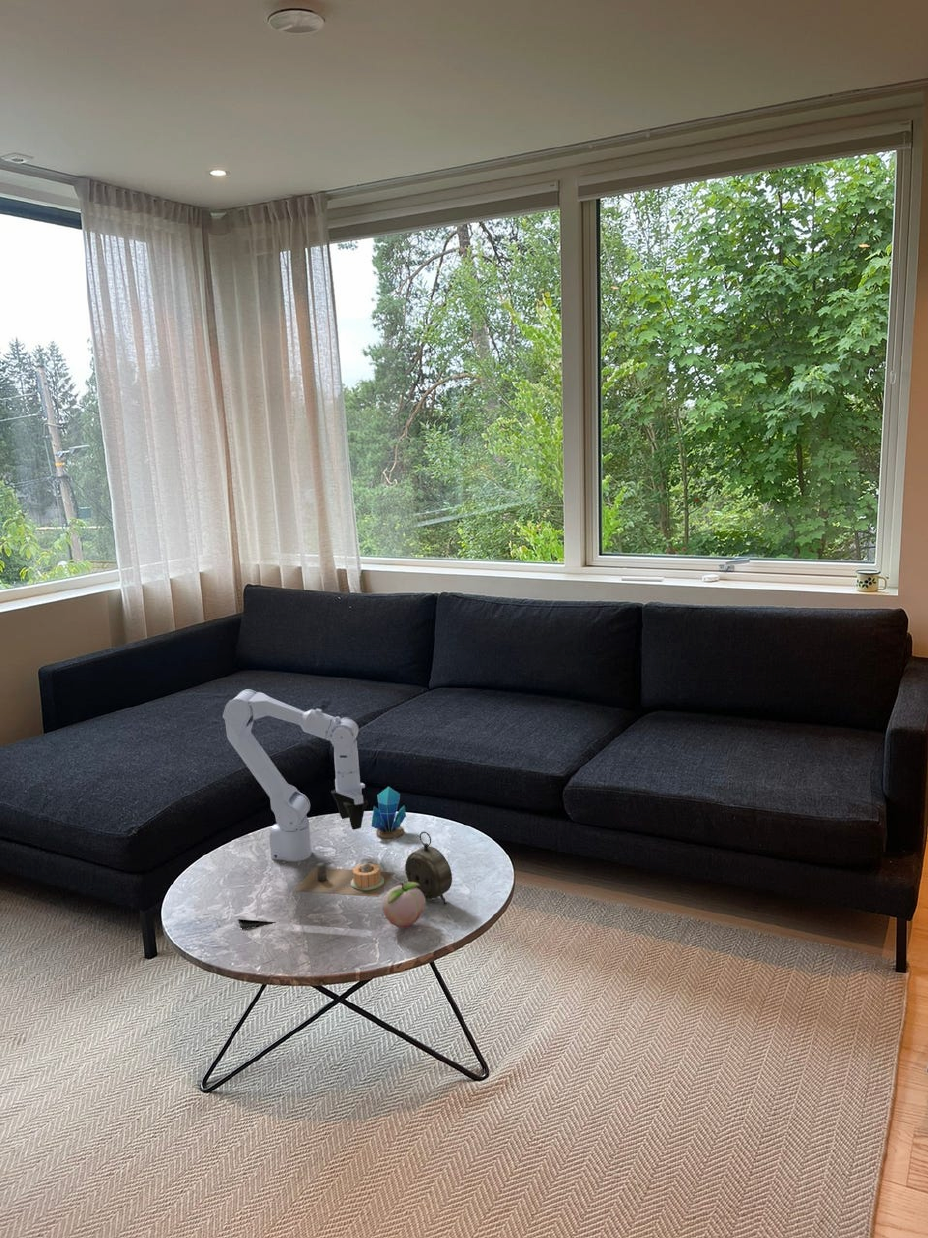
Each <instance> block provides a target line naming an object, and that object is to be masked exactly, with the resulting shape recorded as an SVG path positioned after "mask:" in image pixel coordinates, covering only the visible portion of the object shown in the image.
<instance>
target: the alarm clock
mask: <svg viewBox="0 0 928 1238" xmlns="http://www.w3.org/2000/svg"><path fill="white" fill-rule="evenodd" d="M423 834H426V835H427V836H428V838H429V844H428V843H424V842H423V841H422V835H423ZM419 841H420V843H421V844H422V845H423V846H422V847H420V848H419V849H417V850H415V851H413V852H411V853H410V854H409V855H408V856H407V858H406V860H405V865H404V867H405V868H404V869H405V870H404V872H405V875H406V879H407V881H408V882H416V883H418V884H419V885H420V886H417V888H418V889H420V890H421V891H422V893H423V894H424V896H425V900H435V899H437V898H438V897H440V899H441V901H442V903H443V905H444V906H445V905H447V903H448V902H447V901H446V898H445V896H444V893H447V892H448V891H449V890H450V889H451V887H452V882H453V873H452V870H451V866H450V864H449V862H448V860H447V858H446V857H445V856H444V854H443V853H442V852H441V851H440V850H438V849H437V848H435V847H434V846H431V844H432V837H431V835H430V833H429V832H426V831H421V832H420V834H419ZM408 882H407V883H408Z"/></svg>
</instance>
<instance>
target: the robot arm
mask: <svg viewBox="0 0 928 1238" xmlns="http://www.w3.org/2000/svg"><path fill="white" fill-rule="evenodd" d="M268 716H269V717H272V718H275V719H277V720H278V719H279V720H282V721H285V722H290V723H293V724H296V725H298V726H300V728H301V729H302V731H303V732H304V733H306V734H309V735H313V736H315V737H317V738H321V739H323V740H326V741H330V744H332V746H333V758H334V771H335V773H334V774H335V779H334V787H335V789H333V790H331V791H330V794H331V795H332V796H333V798H334V800H335V802H336V805H337V809H338V813H339V816H340V818H341V819H342V820H343V819H344V820H345V819H349V824H350V827H351V829H352V830H353V831H354V830H358V829H361V828H362V825H363V819H364V813H365V812H366V811H365V810H366V809H367V806H368V804H369V800H367V798H364V795H363V794H362V789H365V788H366V784H365V783H363V782H361V775H360V765H359V764H360V763H359V751H358V743H357V742H358V741H357V739H356V738H358V734H359V730H360V729H359V725H358V724H357V723H356V721H355V720H353V719H352V718H350V717H342V718H341V717H340V716H338V715H337V716H333V715H330V714H327V713H324V712H323V709H321V708H316V709H314V708H311V709H309V710H307V711H305V710H303V709H300V708H298V707H294V706H292V705H290V704H287V703H285V702H282V701H281V700H278V699H275V698H273V697H270V696H269V695H268V694H265V693H264V692H260V691H258V692H257V691H255V690H253V689H249V688H248V689H244V690H241V691H240V692H239V693H237V695H236V696H235V697H234V698H233V699H230V700H229V701H228V702H227V703H226V705H225V706H224V710H223V713H222V719H224V723H225V730H226V738H227V740H228V742H229V743H230V744H231V746H232V747H233V749H234V750H235V752H236V753H237V755H239V757H240V758H241V759H242V761H243V762H244V764H245V765H246V766H247V767H246V768H248V769H249V771H250V772H251V773H252V775H253V776H254V778H255V779H256V781H257V782H258V783H259V784H260V786H261V788H262V789H263V790H264V792H265V793H266V795H267V796H268V797H269V800H270V809H271V811H272V812H273V813H274V817H275V822H276V823H275V824H273V825H272V826H271V829H270V831H269V849H270V859H271V860H278V861H279V860H280V861H281V860H282V861H286V862H301V861H305V860H307V859H308V858H311V856H312V853H313V852H312V842H311V841H312V840H311V832H310V831H311V829H310V820H309V819H308V816H307V814H308V813H309V812H310V810H311V802H310V800H309V798H308V797H307V796H306V795H305V794H303V793H301V792H300V791H299V790H298V789H297V787H295V786H293V785H292V784H289V783H288V782H287V781H286V779H285V777H284V776H283V775H282V773H281V772H280V771H279V770H278V768H277V766H276V765H275V764H274V762H273V761H272V759H271V758H270V756H269V755H268V754H267V752H266V751H265V750H264V749H263V746H261V744H260V743H259V742H258V740H257V739H256V737H255V736H254V735H253V733H252V729H253V725H254V721H255V720H259V719H261V718H264V717H265V718H266V717H268Z"/></svg>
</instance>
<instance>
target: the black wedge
mask: <svg viewBox="0 0 928 1238" xmlns="http://www.w3.org/2000/svg"><path fill="white" fill-rule="evenodd" d="M237 921H238V924H240V925H239V928H240V929H241V928H242V929H241V930H243V929H245V930H248V929H247V928H251V929H253V928H252V927H255V928H257V927H256V926H260V927H263V926H264V925H265V926H268V925H269V926H270V925H274V924H276V923H277V921H266V920H254V919H253V920H252V919H240V918H239V919H237ZM273 923H274V924H273Z"/></svg>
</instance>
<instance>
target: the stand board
mask: <svg viewBox="0 0 928 1238" xmlns="http://www.w3.org/2000/svg"><path fill="white" fill-rule="evenodd" d="M362 864H363V866H362V873H368V872H371V871H372V870H371V865H370V864H369V862H364V863H362ZM394 874H395V872H391V871H380V877H381V880H380V883H379V884H377V885H376V886H372V887H368V888H362V887H358V886H356V885H355V884H354V881H353V869H346V868H345V869H344V868H333V867H332V868H331V867H330V868H328V867H327V865H326V863H325V862H318V863H317V864H316V867H315V866H314V867H312V869H311V870H310V871H309V872H308V873H307V875H306V876H305V877H304V878H303V879H302V881H301V882H300V883H299V884H298V885H297V886H296V887H295V889H294V890H293V891H294V892H306V893H321V894H334V895H349V896H360V897H361V896H362V897H372V898H373V897H374V898H375V897H377V898H379V896H380V894H381V893H382V892H383V891H384V889H385V887H386V885H387V884H388V883H389V882H390V880H391V878H392V877H393V875H394Z"/></svg>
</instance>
